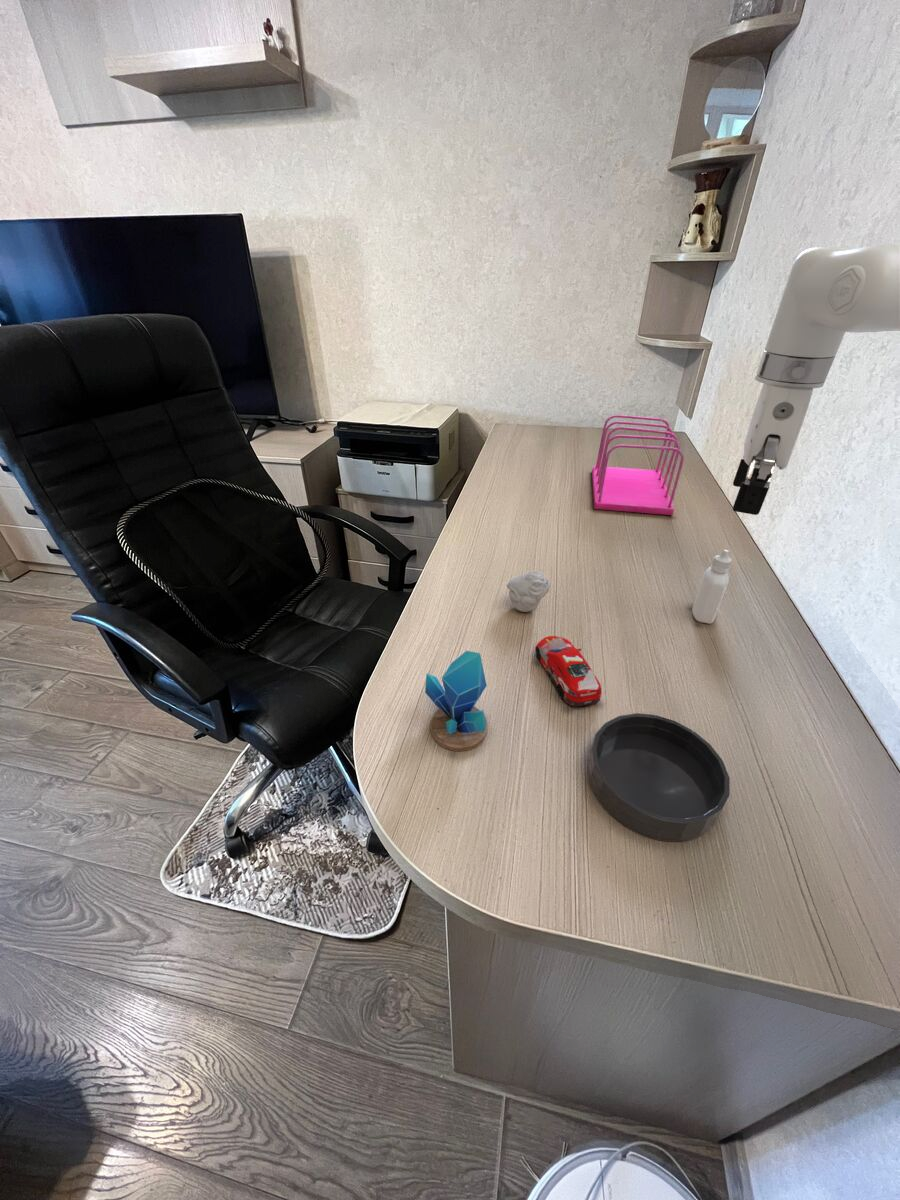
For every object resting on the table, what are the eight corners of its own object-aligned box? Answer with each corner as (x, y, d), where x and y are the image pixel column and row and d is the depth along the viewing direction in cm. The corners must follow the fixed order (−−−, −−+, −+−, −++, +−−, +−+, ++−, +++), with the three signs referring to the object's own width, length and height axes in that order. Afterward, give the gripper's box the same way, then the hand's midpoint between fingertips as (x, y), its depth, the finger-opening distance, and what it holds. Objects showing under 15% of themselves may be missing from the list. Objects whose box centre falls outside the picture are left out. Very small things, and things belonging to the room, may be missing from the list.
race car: (530, 648, 75) (532, 627, 73) (563, 643, 76) (567, 622, 74) (565, 713, 65) (570, 690, 62) (604, 706, 66) (610, 684, 63)
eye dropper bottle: (723, 613, 83) (748, 549, 76) (708, 627, 80) (732, 562, 73) (697, 602, 85) (719, 539, 79) (682, 615, 82) (703, 551, 75)
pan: (720, 757, 59) (729, 737, 57) (718, 865, 49) (729, 845, 47) (600, 718, 64) (605, 699, 62) (575, 809, 53) (580, 789, 51)
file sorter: (658, 477, 133) (673, 416, 125) (672, 516, 113) (692, 447, 104) (591, 472, 136) (602, 412, 127) (593, 509, 116) (606, 442, 107)
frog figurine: (545, 622, 80) (550, 586, 76) (502, 616, 82) (505, 580, 78) (548, 601, 85) (553, 566, 81) (507, 596, 87) (510, 561, 83)
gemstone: (479, 699, 67) (483, 628, 60) (493, 752, 59) (499, 677, 53) (424, 704, 66) (422, 633, 59) (432, 759, 59) (430, 684, 52)
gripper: (839, 386, 54) (778, 529, 64) (819, 360, 67) (770, 482, 77) (761, 380, 56) (714, 518, 66) (756, 356, 69) (717, 474, 79)
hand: (744, 499), depth 71 cm, fingers open, 9 cm apart
